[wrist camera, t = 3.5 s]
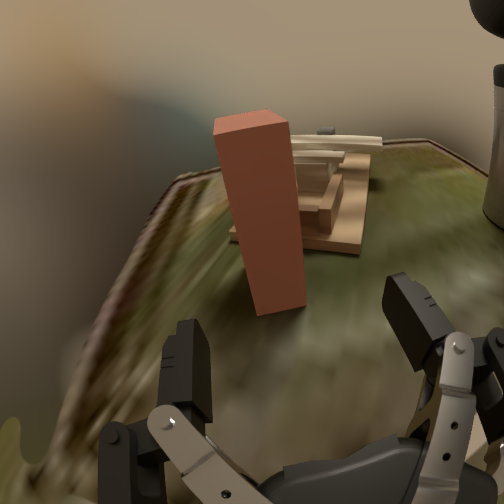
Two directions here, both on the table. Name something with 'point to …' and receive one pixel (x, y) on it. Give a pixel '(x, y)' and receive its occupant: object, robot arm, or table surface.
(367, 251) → the table surface
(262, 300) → the terracotta rectangular block
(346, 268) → the table surface
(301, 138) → the jig
